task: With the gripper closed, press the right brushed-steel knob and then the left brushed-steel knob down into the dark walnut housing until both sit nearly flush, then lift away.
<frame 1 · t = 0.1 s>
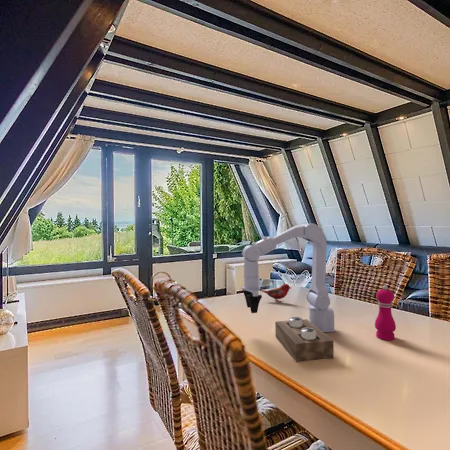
hand: (252, 309, 130), 10 cm above the table, tool pointing down, fingers open, 7 cm apart
housing: (302, 346, 118), on the table
pepper mill: (385, 337, 125), on the table
decorative bird figurine: (274, 302, 178), on the table
knob 2: (308, 338, 112), point 5 cm above the table, slide at 0.0 cm
knob 1: (296, 326, 124), point 5 cm above the table, slide at 0.0 cm
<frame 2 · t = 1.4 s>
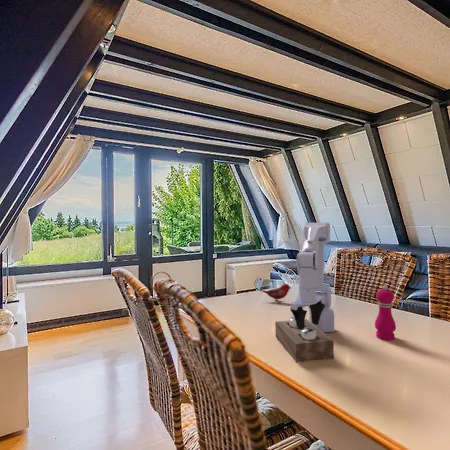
hand: (308, 326, 112), 9 cm above the table, tool pointing down, fingers open, 7 cm apart
nothing on the table moved.
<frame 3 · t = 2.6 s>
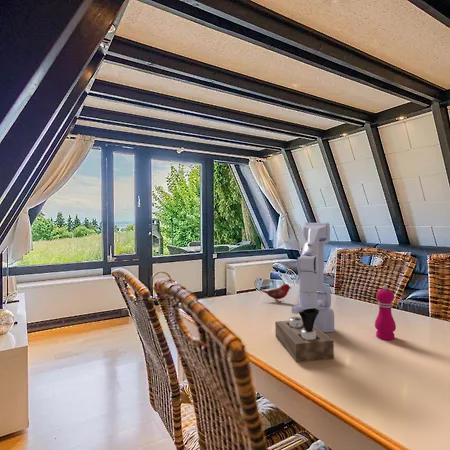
hand: (308, 330, 112), 8 cm above the table, tool pointing down, fingers closed, pressing on knob 2
knob 2: (308, 339, 112), point 5 cm above the table, slide at 0.2 cm, touching gripper
everything else where it was.
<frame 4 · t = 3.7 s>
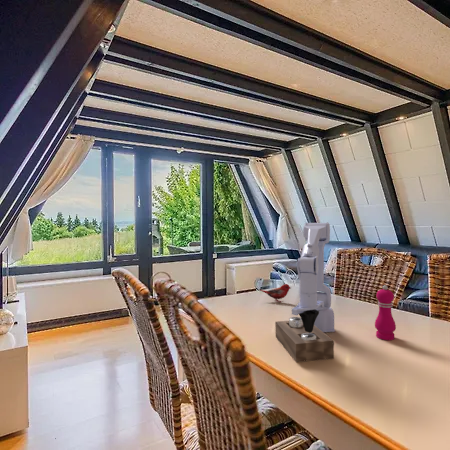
hand: (308, 331, 112), 8 cm above the table, tool pointing down, fingers closed
knob 2: (308, 344, 112), point 3 cm above the table, slide at 1.9 cm
everything else where it was.
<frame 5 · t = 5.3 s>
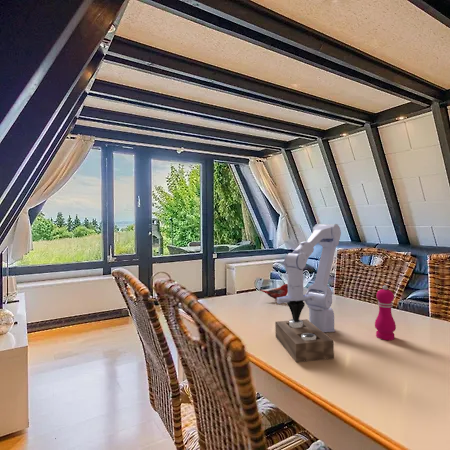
hand: (295, 320, 124), 8 cm above the table, tool pointing down, fingers closed, pressing on knob 1
knob 1: (296, 328, 124), point 5 cm above the table, slide at 0.8 cm, touching gripper
everything else where it was.
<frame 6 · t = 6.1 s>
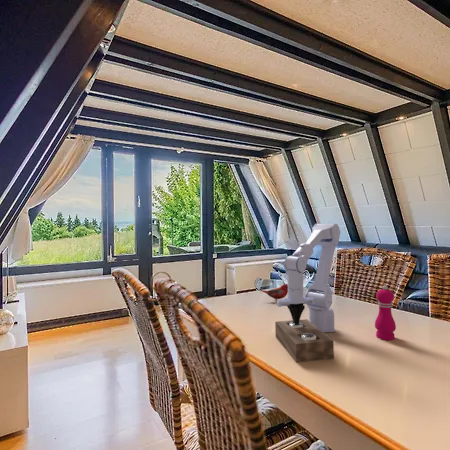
hand: (295, 323, 124), 6 cm above the table, tool pointing down, fingers closed
knob 1: (296, 331, 124), point 3 cm above the table, slide at 1.9 cm
everything else where it was.
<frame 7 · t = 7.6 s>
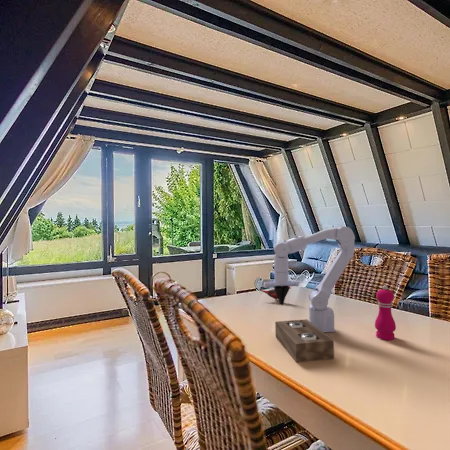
hand: (281, 303, 136), 10 cm above the table, tool pointing down, fingers closed
nothing on the table moved.
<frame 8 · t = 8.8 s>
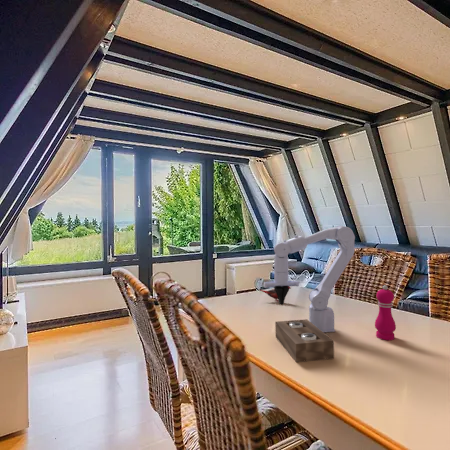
hand: (281, 303, 136), 10 cm above the table, tool pointing down, fingers closed
nothing on the table moved.
at the end: knob 2 slide at 1.9 cm; knob 1 slide at 1.9 cm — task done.
